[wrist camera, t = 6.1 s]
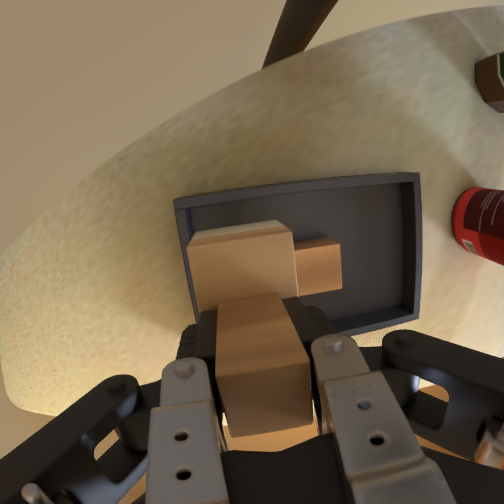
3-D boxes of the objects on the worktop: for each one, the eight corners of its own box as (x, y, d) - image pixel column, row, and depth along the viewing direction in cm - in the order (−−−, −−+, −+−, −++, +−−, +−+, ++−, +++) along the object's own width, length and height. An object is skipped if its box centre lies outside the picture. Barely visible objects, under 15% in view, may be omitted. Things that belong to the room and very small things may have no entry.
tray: (178, 197, 27) (172, 199, 24) (403, 172, 28) (419, 172, 25) (206, 345, 30) (205, 361, 27) (405, 307, 31) (419, 318, 28)
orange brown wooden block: (286, 242, 28) (293, 250, 25) (328, 236, 28) (340, 243, 25) (290, 285, 29) (297, 296, 26) (331, 277, 29) (342, 288, 26)
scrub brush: (194, 231, 15) (159, 294, 7) (276, 219, 15) (338, 265, 7) (219, 356, 17) (220, 482, 8) (291, 345, 17) (337, 461, 8)
